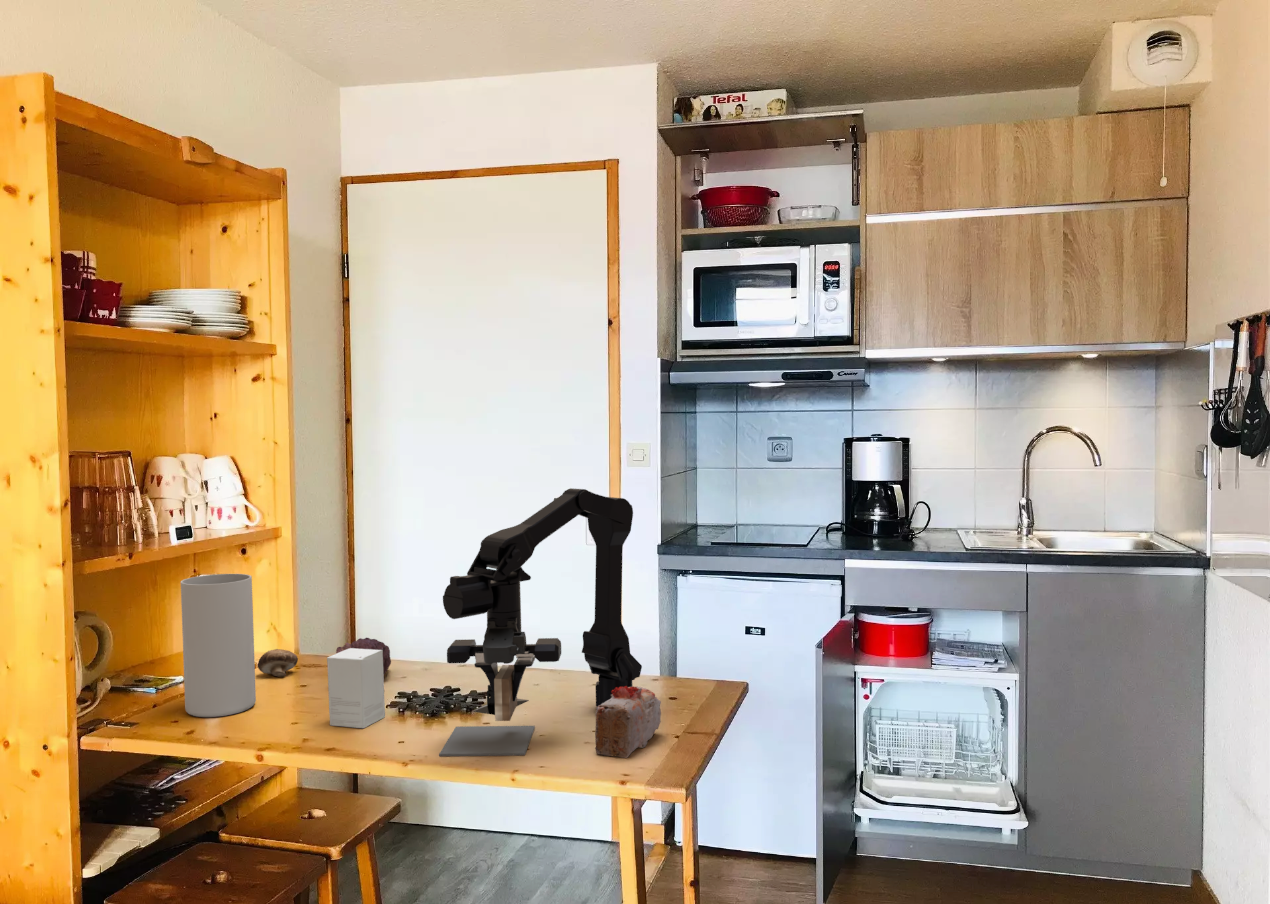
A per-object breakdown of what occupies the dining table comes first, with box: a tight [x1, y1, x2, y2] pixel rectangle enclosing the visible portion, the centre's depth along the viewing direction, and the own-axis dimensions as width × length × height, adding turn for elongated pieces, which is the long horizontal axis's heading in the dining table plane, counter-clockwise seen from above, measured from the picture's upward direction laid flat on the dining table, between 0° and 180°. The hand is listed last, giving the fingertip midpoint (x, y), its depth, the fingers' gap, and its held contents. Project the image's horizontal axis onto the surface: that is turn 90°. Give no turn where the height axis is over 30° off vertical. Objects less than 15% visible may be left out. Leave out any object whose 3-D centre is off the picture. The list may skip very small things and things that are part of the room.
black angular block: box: [471, 684, 530, 716], centre depth 189 cm, size 13×8×5 cm, turn 153°
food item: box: [594, 685, 662, 759], centre depth 166 cm, size 14×8×10 cm, turn 159°
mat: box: [438, 725, 536, 757], centre depth 168 cm, size 14×14×1 cm
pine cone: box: [335, 637, 392, 675], centre depth 208 cm, size 18×10×10 cm
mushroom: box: [257, 648, 299, 678], centre depth 214 cm, size 8×8×6 cm
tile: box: [494, 664, 518, 722], centre depth 168 cm, size 2×9×7 cm, turn 179°
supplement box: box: [326, 648, 386, 729], centre depth 181 cm, size 7×7×13 cm
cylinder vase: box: [180, 573, 257, 718], centre depth 190 cm, size 12×12×25 cm
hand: (506, 700), depth 168 cm, fingers closed on tile, 2 cm apart
